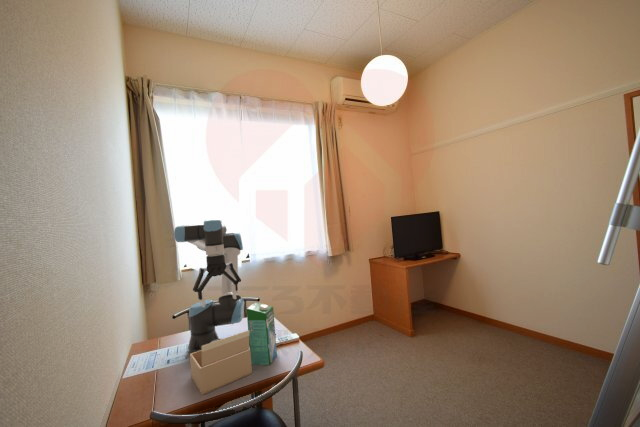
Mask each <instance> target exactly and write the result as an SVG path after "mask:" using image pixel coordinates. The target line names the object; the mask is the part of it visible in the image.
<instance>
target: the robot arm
mask: <svg viewBox="0 0 640 427" xmlns="http://www.w3.org/2000/svg"><path fill="white" fill-rule="evenodd" d="M173 231H174V232H173V236H174V240H175V242H177V243H186V242H187V243H189V244H192V245H194V246H196V247H197V249H199V250H200V251H202V252H205V254H206V267H199V270H198V275H197V278H196V281H195V283H194V285H193V287H192V291H193V292H194V293H197V296H198V297H197V298H198V300H199V301H198V302H196V303H193V305H191V306H190V307H189V309H188V311H189V313H188V314H189V315H188V318H189V331H190V337H189V342H188V347H187V352H188V354H189V355H190V354H191V353H194V352H197V351H200V350H202V346H203V345H206V344H209V343H210V342H211V341H213V340H216V339H220V337H219V335H218V333H217V331H216V327H218V326H226V325H234V324H238V323H241V322H242V320H243V318H244V314H245V313H244V311H245V301H244V298H243V299H242V296H241V295H240V294H239V283H240V282H242V279H241V278H240V276H239V272H238V271H239V269H238V268H239V264H238V263H239V262H238V261H239V259H238V257H239V255H241V251H243V250H244V247H243V241H242V236H241V233H240V232H239V231H232V230H231V231H228V229H227V227H226V225H225V224H224V223H222V220H221V219H220V218H217V219H216V218H215V219H214V218H213V219H207V220H205V219H204V221H203V223H201V224H200V223H199V224H191V225H189V224H188V225H187V224H186V225H177V226H175V227H174V230H173ZM206 272H207V274H206V277H205V278H204V279H203V277H204V275H205V273H206ZM218 276H221V295H220V296H219V297H218V298H217V299H218V301H217V302H214V300H213V299H205V292H204V291H203V290H204V289H205V287H206V286H207V284H208V283H209V281H210V280H211V278H213V277H214V278H215V277H218Z"/></svg>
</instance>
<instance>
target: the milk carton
mask: <svg viewBox="0 0 640 427" xmlns="http://www.w3.org/2000/svg"><path fill="white" fill-rule="evenodd" d="M274 314H275V312H274V306H272V305H268V304H265V303H260V302H256V301H255V302H254V303H252V304H251V305H250V306H248V307H247V308H246V318H247V331H248V330H249V349H250V352H251V365H262V366H265V365H266V366H268V365H269V366H270V365H271V364H272V362H273V361H274V359H275V358H276V357H277V355H278V349H277V338H276V336H277V335H276V327H275V325H276V324H275V315H274Z"/></svg>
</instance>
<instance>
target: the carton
mask: <svg viewBox="0 0 640 427" xmlns="http://www.w3.org/2000/svg"><path fill="white" fill-rule="evenodd" d="M189 362H190V376H191V379H192V381H193V383H194V384H195V386H196V387H197V389H198V391H199V393H200V394H201V396H204V395H206V394H209V393H211V392H213V391H215V390H218V389H220V388H222V387H225V386H227V385H229V384H231V383H233V382H236V381H239V380H241V379H243V378H245V377H248V376H250V375H252V374H253V366H252V365H253V364H251V352H250V348H249V349H248V350H245V351H242V352H240V353H237V354H234V355H232V356H229V357H228V358H225V359H222V360H220V361H217V362H214V363H212V364H208V365H205V366H202V350H200V351H197V352H194V353H191V354H189Z"/></svg>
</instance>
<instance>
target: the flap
mask: <svg viewBox="0 0 640 427" xmlns="http://www.w3.org/2000/svg"><path fill="white" fill-rule="evenodd" d="M220 339H221V340H218V341H215V342H212V343H209V344H206V345H203V346H202V366H205V365H208V364H210V363H213V362H216V361H218V360H221V359H224V358H226V357H229V356H232V355H234V354H237V353H240V352H242V351H245V350H248V349H250V346H249V330H248V329H247V330H245V331H242V332H239V333H237V334H236V333H235V334H233V335H229V336H226V337H224V338H220Z"/></svg>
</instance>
